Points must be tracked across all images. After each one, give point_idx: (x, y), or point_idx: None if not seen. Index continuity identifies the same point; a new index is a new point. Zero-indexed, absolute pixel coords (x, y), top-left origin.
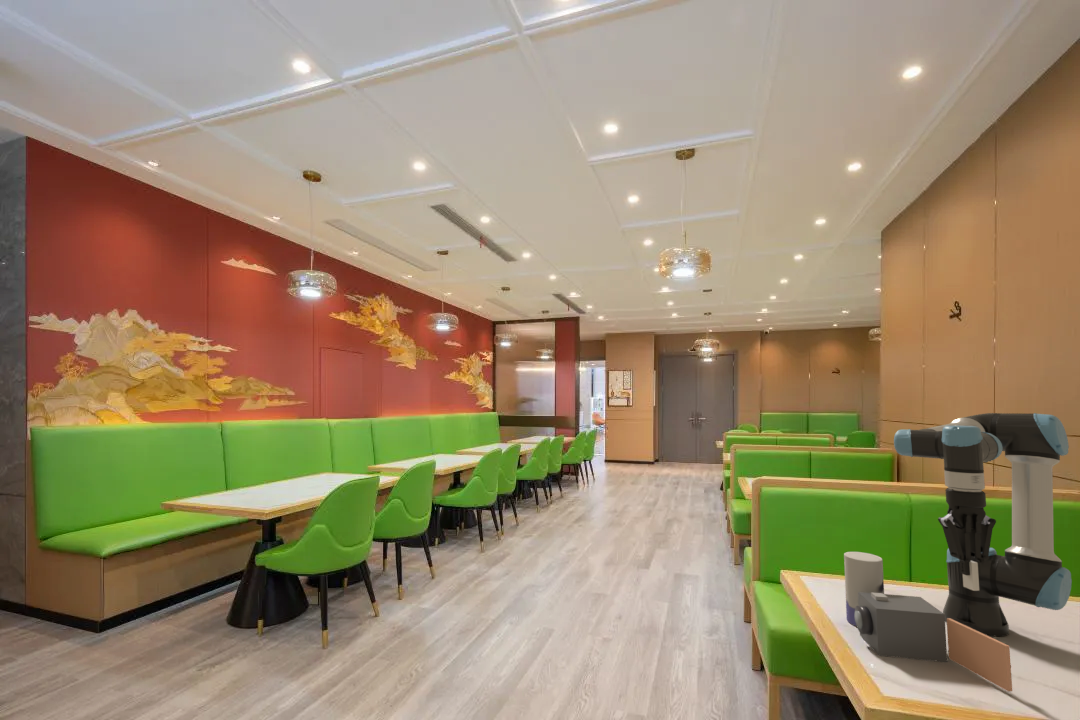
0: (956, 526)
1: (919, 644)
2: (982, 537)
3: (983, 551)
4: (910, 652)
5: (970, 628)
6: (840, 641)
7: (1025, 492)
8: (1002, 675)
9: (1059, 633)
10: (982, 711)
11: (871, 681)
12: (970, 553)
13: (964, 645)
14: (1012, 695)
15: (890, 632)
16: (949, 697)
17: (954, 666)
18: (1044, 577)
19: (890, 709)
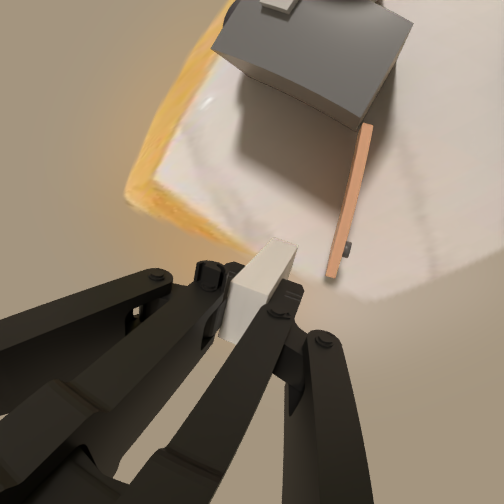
0: (44, 415)
1: (309, 101)
2: (296, 476)
3: (286, 404)
4: (296, 97)
5: (356, 186)
6: None
7: None
8: (332, 244)
9: None
10: (243, 252)
11: (165, 145)
12: (195, 363)
13: (351, 170)
14: None
15: (254, 73)
16: (234, 212)
17: (352, 146)
18: None
19: (137, 206)
